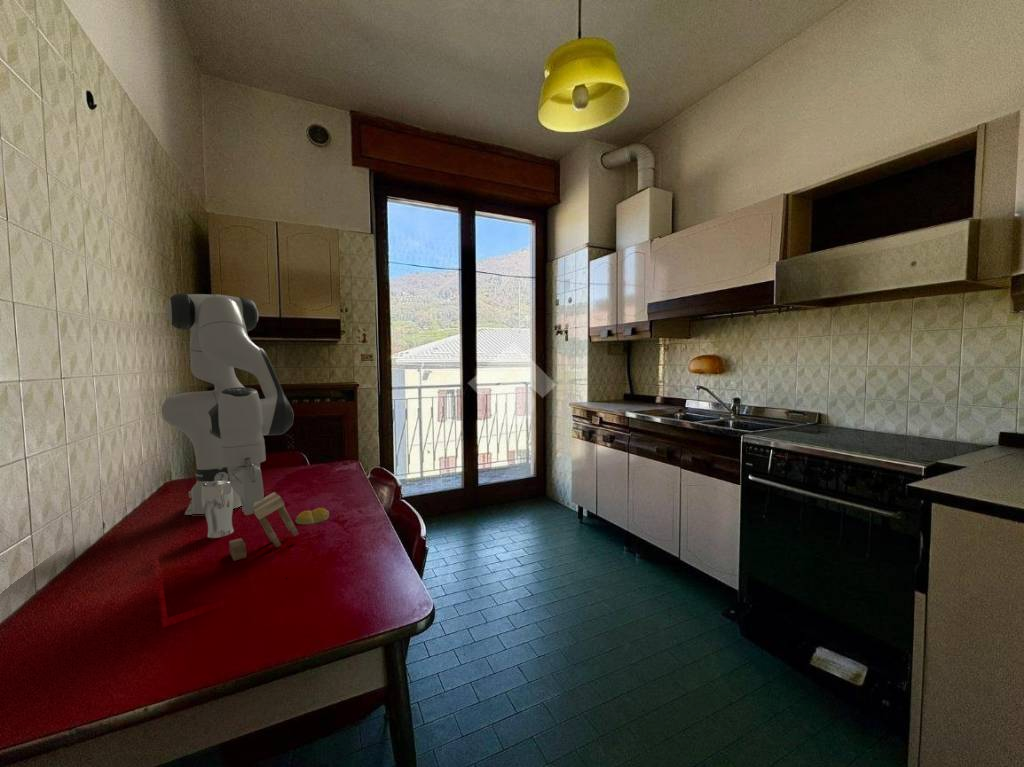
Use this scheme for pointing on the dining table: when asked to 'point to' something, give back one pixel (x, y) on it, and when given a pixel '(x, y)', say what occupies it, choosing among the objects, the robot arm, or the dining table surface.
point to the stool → (269, 506)
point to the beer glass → (218, 507)
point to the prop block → (237, 549)
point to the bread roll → (312, 516)
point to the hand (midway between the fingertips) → (248, 513)
